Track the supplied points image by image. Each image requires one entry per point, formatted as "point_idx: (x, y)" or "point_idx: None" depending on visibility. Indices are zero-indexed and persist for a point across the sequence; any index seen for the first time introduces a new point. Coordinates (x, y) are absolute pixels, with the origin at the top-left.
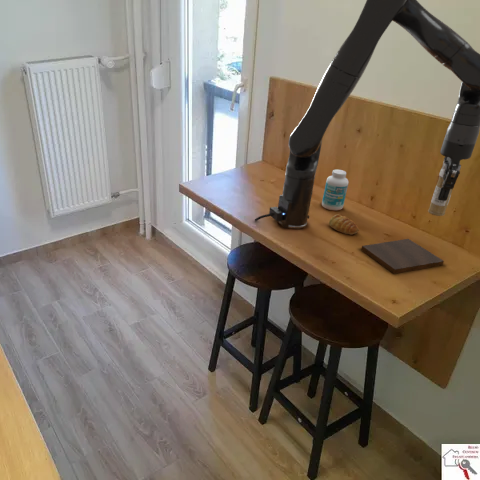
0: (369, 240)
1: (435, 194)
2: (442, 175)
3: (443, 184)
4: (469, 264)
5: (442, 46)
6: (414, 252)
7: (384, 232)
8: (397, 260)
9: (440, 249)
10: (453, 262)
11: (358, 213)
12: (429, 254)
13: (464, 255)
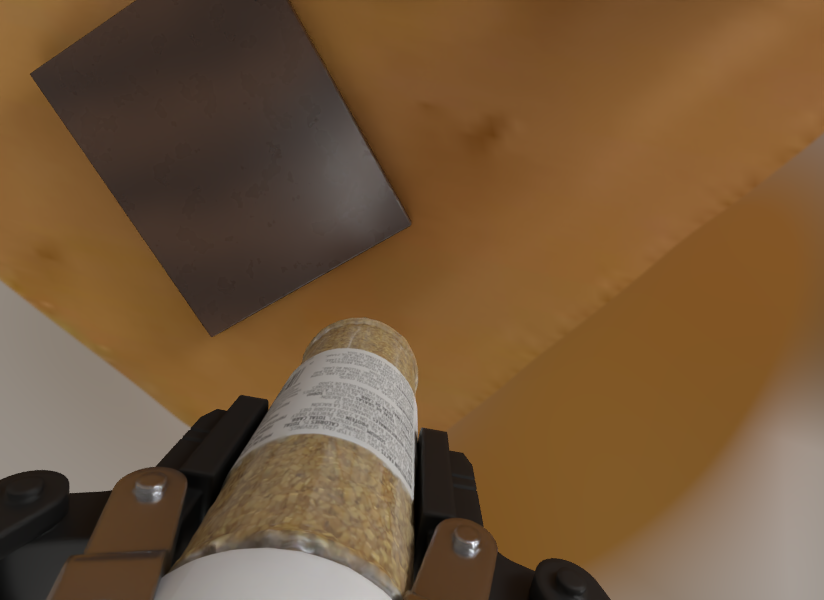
0: (393, 14)
1: (301, 390)
2: (131, 593)
3: (29, 503)
4: None
5: None
6: (254, 219)
7: (516, 124)
8: (132, 108)
9: None
10: (265, 383)
11: (774, 3)
12: (254, 287)
13: None
